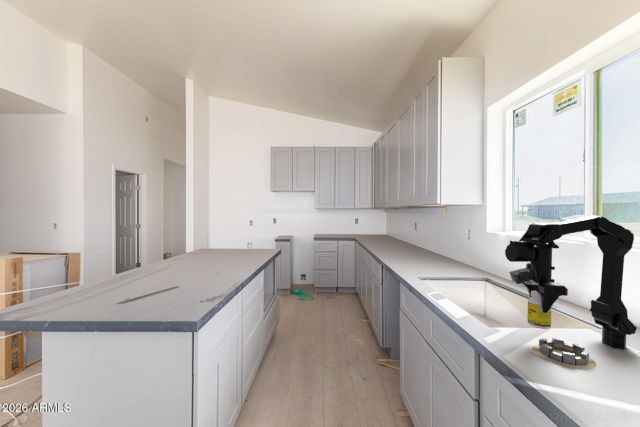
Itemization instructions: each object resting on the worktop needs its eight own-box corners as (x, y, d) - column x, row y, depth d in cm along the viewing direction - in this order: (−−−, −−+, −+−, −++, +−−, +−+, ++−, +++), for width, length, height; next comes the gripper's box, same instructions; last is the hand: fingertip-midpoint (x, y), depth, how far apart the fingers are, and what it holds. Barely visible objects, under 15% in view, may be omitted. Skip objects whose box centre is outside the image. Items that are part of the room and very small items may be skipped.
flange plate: (527, 343, 99) (527, 340, 99) (584, 353, 93) (585, 350, 93) (538, 364, 86) (538, 361, 86) (606, 378, 79) (606, 374, 79)
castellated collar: (535, 343, 97) (535, 334, 97) (579, 351, 92) (580, 342, 92) (544, 359, 86) (544, 349, 86) (594, 369, 82) (595, 359, 81)
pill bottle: (524, 321, 100) (524, 289, 100) (544, 323, 99) (545, 290, 98) (532, 328, 94) (533, 294, 94) (555, 330, 92) (555, 295, 92)
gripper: (502, 255, 107) (501, 298, 107) (527, 266, 88) (525, 317, 89) (536, 257, 104) (535, 300, 105) (569, 267, 86) (568, 320, 86)
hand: (539, 308), depth 96 cm, fingers closed on pill bottle, 6 cm apart
